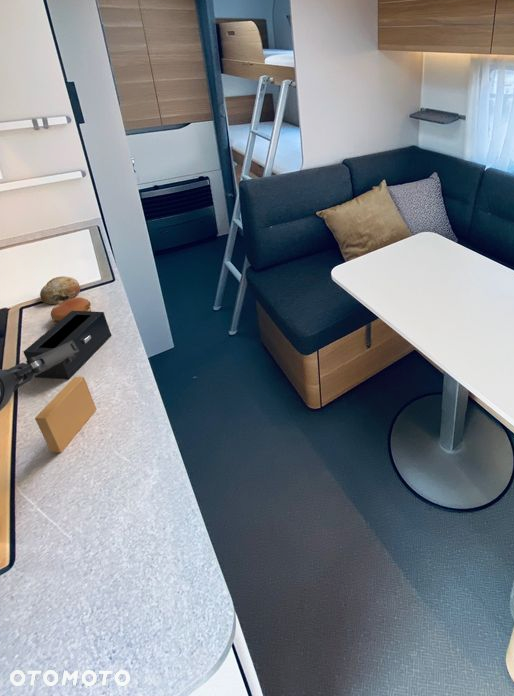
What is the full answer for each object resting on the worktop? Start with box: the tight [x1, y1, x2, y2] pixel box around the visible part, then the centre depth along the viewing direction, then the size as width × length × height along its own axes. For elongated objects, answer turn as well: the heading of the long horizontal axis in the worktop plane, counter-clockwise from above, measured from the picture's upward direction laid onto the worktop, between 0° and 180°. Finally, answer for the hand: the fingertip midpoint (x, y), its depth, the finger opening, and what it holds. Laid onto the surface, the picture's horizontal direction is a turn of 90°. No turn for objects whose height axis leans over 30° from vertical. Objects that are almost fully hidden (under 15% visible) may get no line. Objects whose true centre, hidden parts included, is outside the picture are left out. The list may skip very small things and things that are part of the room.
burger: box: [50, 296, 92, 326], centre depth 118 cm, size 10×9×5 cm
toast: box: [34, 376, 97, 454], centre depth 84 cm, size 2×10×10 cm, turn 175°
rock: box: [39, 276, 81, 305], centre depth 128 cm, size 10×10×8 cm
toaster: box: [22, 310, 112, 380], centre depth 103 cm, size 10×15×8 cm, turn 175°
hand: (32, 374), depth 79 cm, fingers open, 13 cm apart
